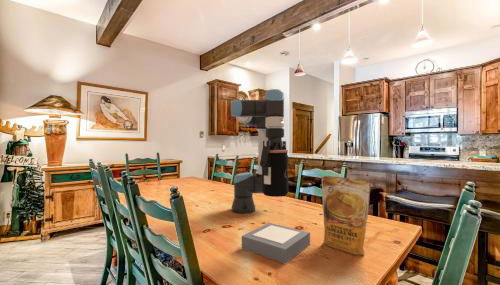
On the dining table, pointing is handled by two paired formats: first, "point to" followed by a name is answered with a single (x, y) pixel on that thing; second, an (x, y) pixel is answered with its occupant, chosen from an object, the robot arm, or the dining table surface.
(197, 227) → the dining table surface
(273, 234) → the stand
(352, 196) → the pancake mix bag
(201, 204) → the dining table surface
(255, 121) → the robot arm
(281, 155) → the coffee jar
